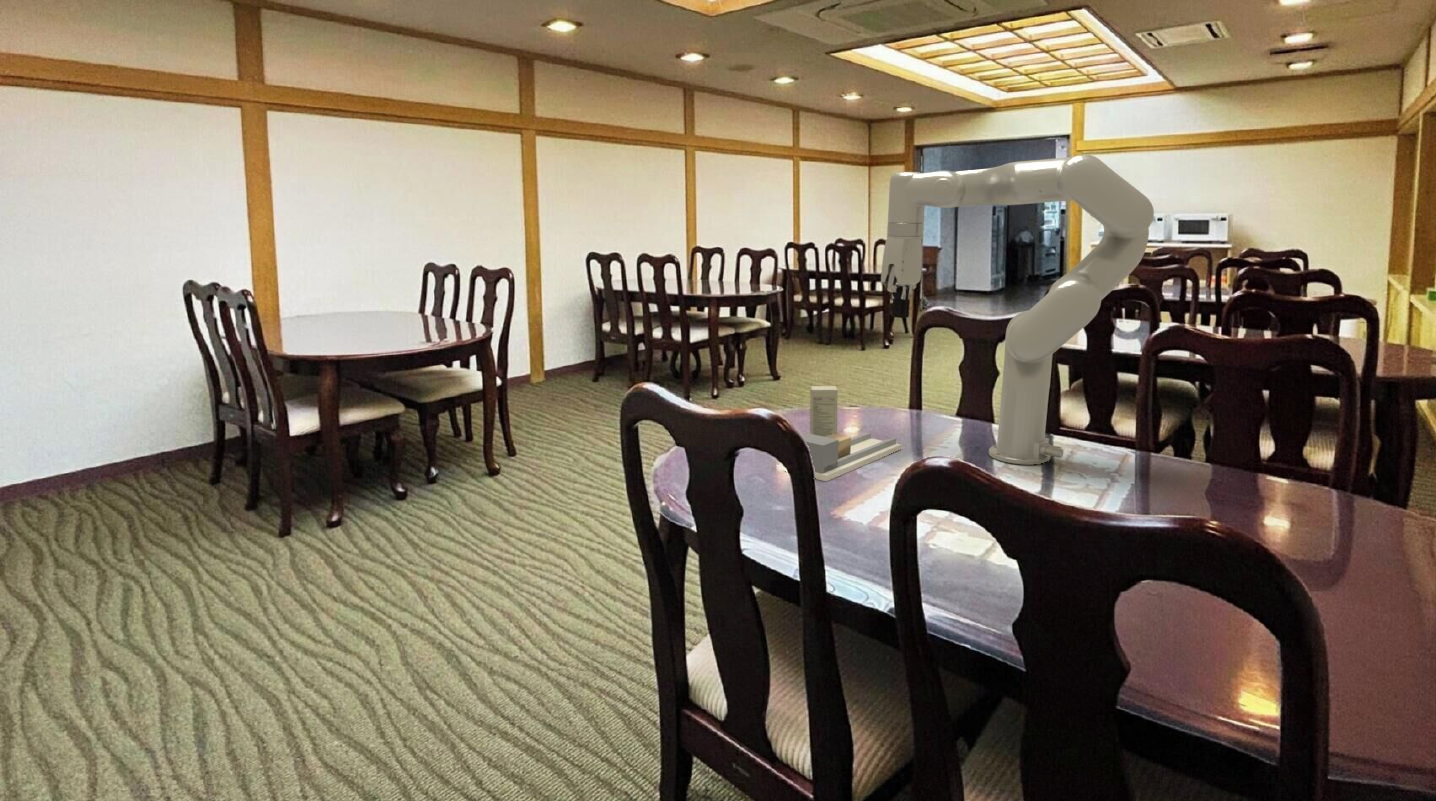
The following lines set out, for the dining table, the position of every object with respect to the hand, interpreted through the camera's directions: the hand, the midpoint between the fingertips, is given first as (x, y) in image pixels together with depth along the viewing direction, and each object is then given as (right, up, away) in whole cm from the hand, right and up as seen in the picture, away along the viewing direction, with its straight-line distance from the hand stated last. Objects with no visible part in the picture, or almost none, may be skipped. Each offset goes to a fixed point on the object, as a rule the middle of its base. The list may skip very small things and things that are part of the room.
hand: (900, 317), depth 187 cm
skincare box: (-16, -27, +12) cm, 33 cm away
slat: (-18, -31, -11) cm, 37 cm away
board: (-13, -31, -5) cm, 34 cm away
